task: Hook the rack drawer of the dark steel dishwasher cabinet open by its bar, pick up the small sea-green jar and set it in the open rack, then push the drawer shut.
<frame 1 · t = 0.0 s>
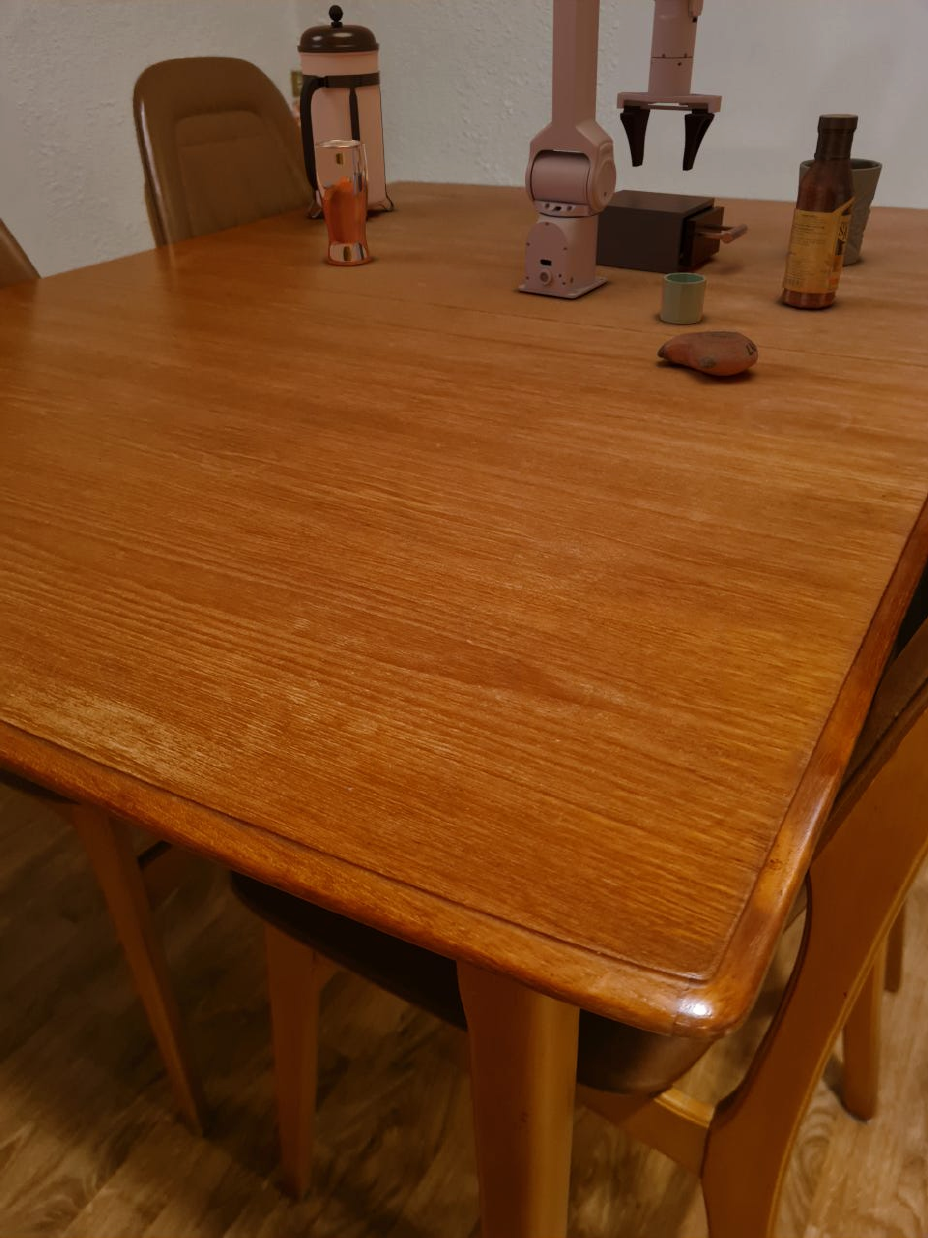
hand: (662, 167, 135), 10 cm above the table, tool pointing down, fingers open, 7 cm apart
oil lamp: (706, 371, 95), on the table
sauce bottle: (806, 304, 114), on the table
beer glass: (349, 261, 135), on the table
coffee press: (349, 216, 162), on the table
jar: (680, 318, 109), on the table
drawer: (678, 233, 129), point 4 cm above the table, slide at 0.5 cm
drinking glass: (823, 259, 131), on the table
dishwasher: (646, 258, 133), on the table
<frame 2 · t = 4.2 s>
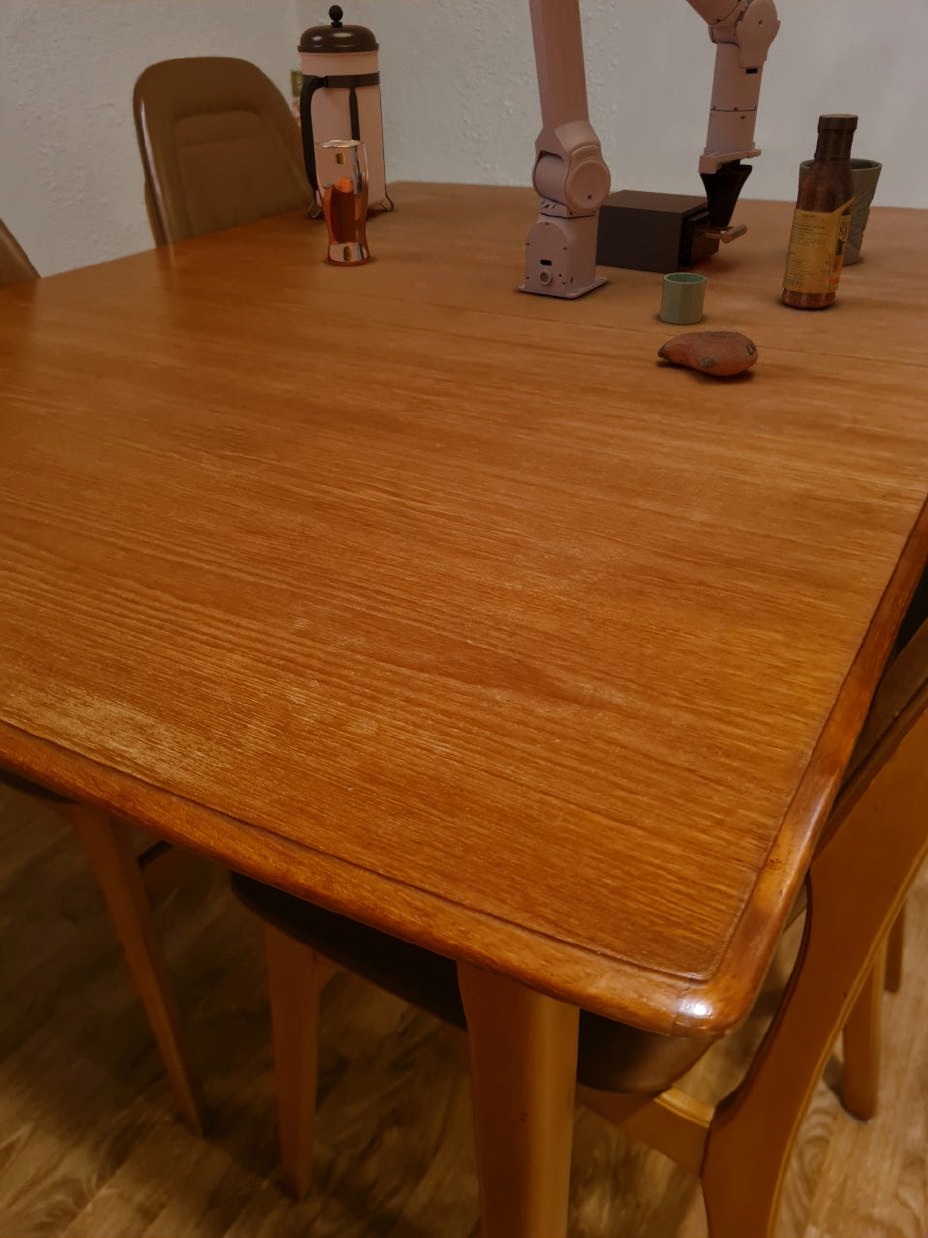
hand: (719, 225, 125), 5 cm above the table, tool pointing down, fingers closed
nothing on the table moved.
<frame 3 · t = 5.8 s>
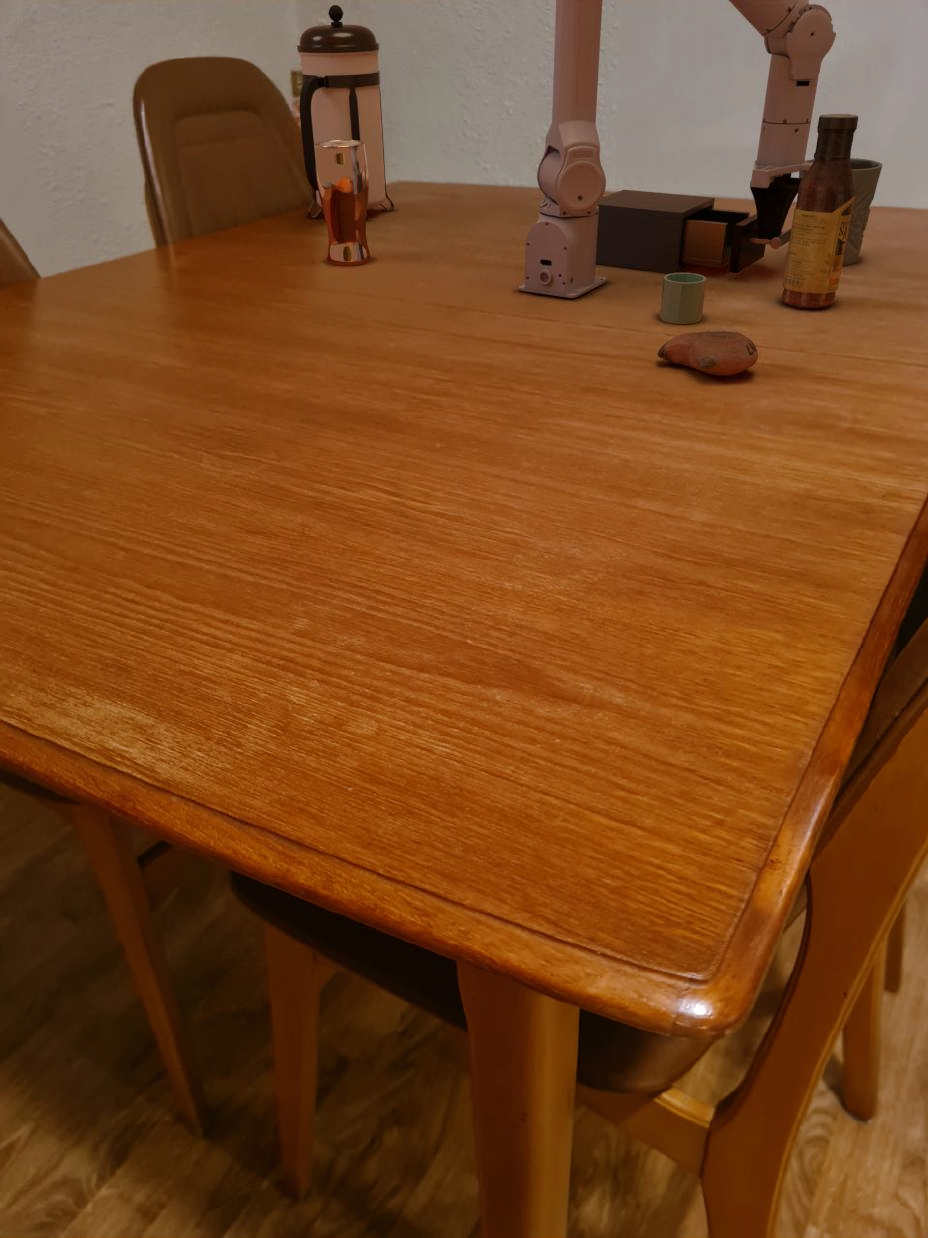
hand: (768, 239, 123), 4 cm above the table, tool pointing down, fingers closed, pressing on drawer
drawer: (723, 238, 126), point 4 cm above the table, slide at 6.8 cm, touching gripper
everything else where it was.
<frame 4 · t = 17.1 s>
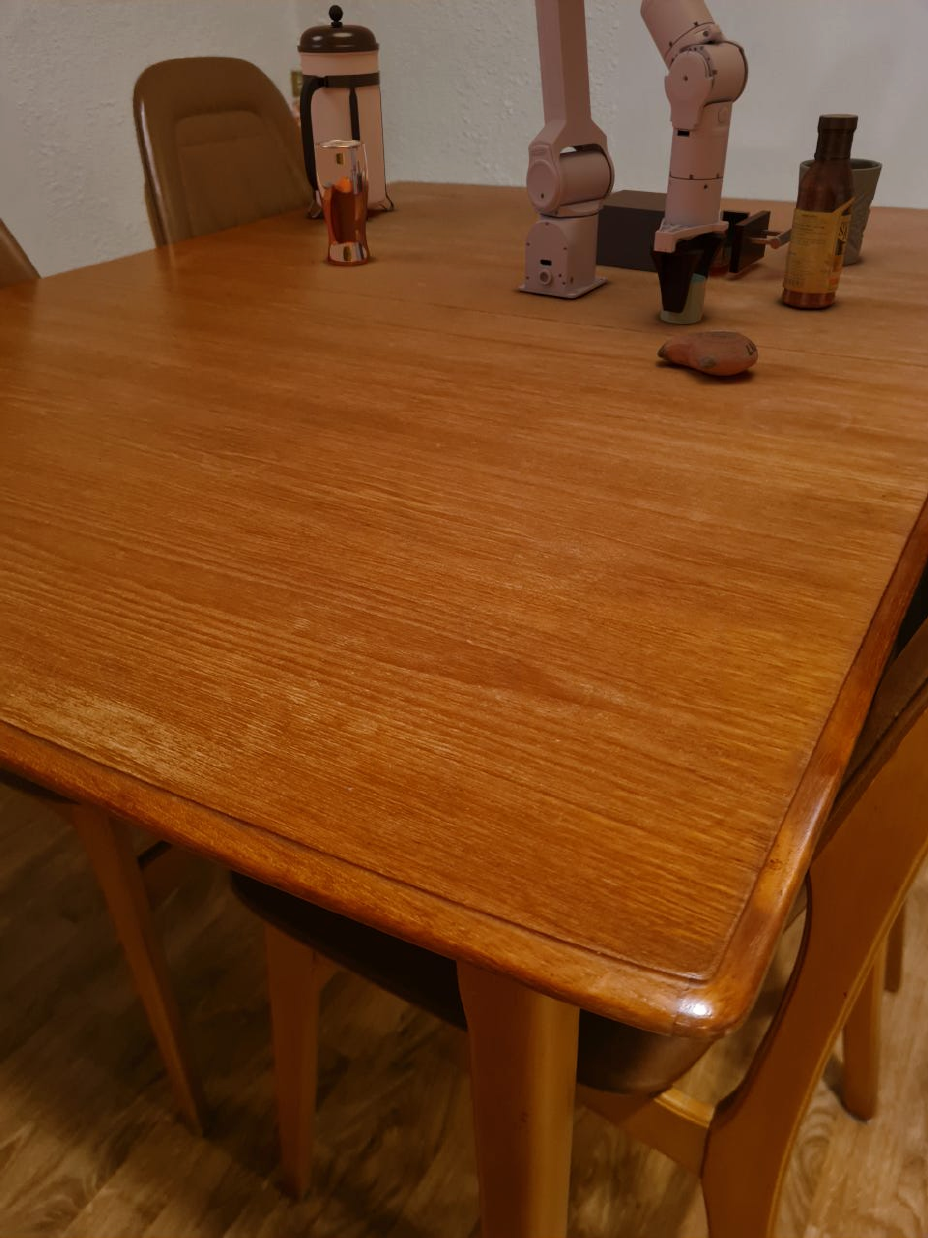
hand: (681, 305, 108), 1 cm above the table, tool pointing down, fingers closed on jar, 4 cm apart
jar: (680, 318, 109), on the table, touching gripper
drawer: (723, 238, 126), point 4 cm above the table, slide at 6.8 cm
everything else where it was.
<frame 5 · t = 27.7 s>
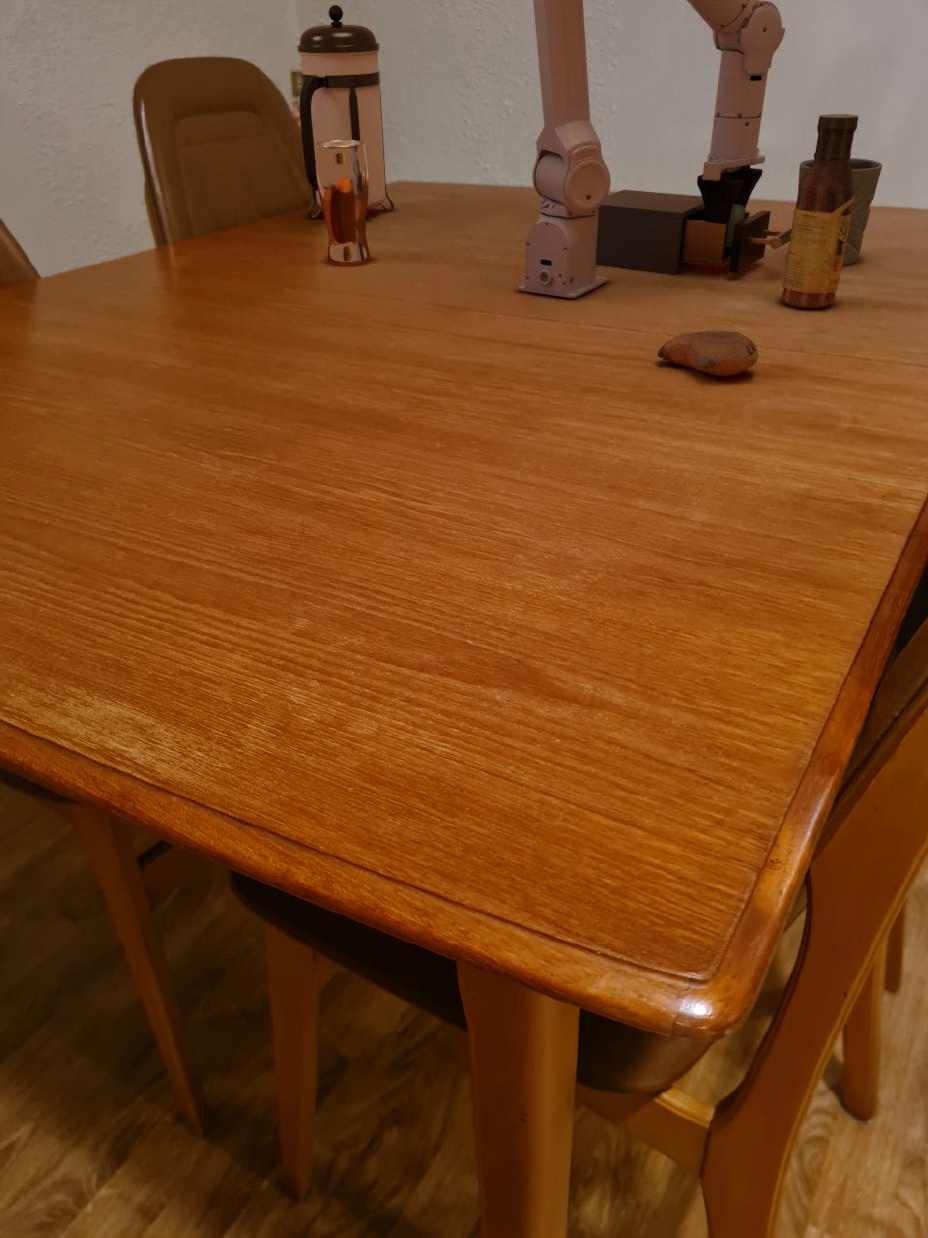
hand: (722, 231, 125), 5 cm above the table, tool pointing down, fingers closed on jar, 5 cm apart
jar: (722, 243, 126), point 3 cm above the table, touching gripper
everything else where it was.
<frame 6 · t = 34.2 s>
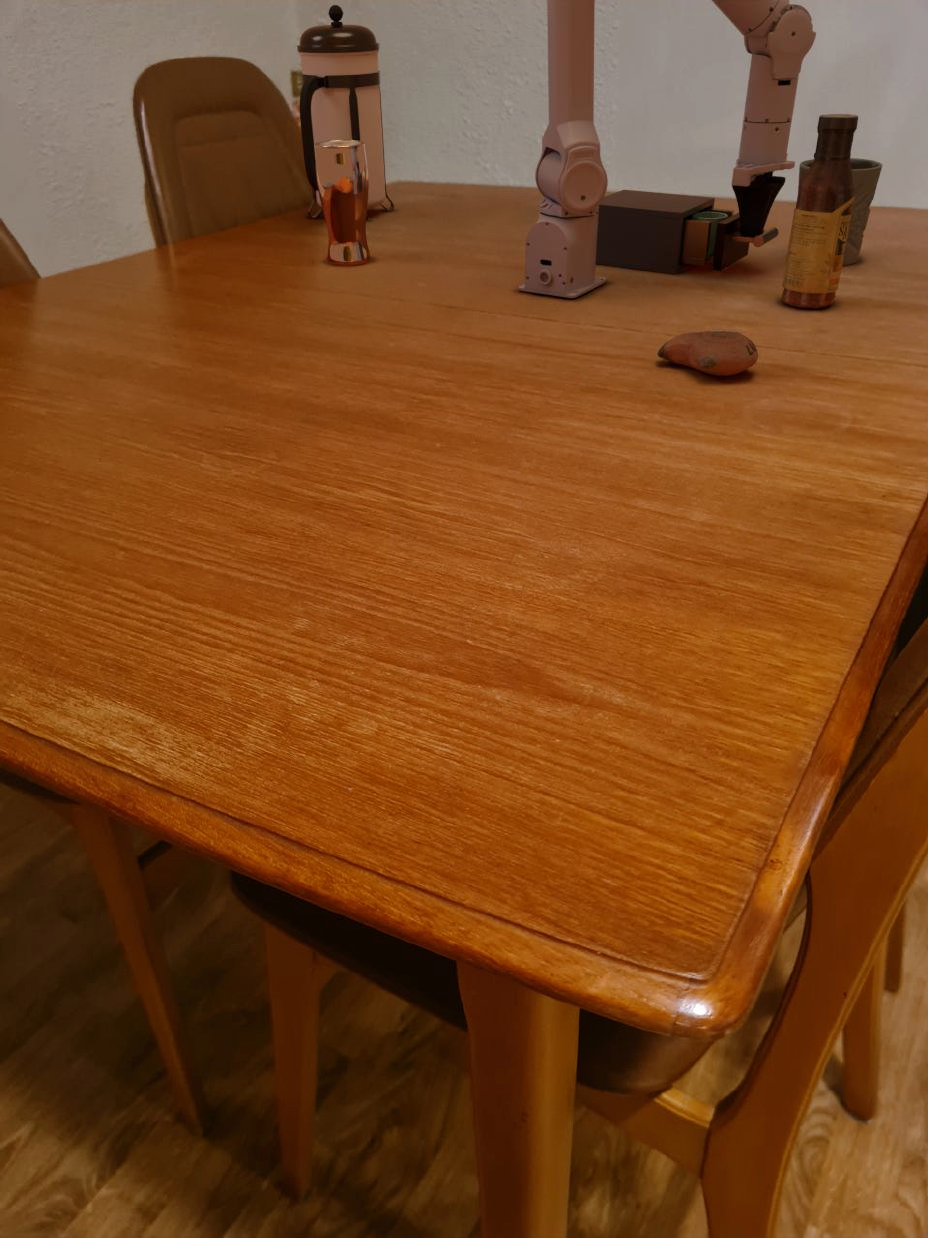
hand: (750, 237, 124), 4 cm above the table, tool pointing down, fingers closed, pressing on drawer
jar: (705, 250, 128), point 2 cm above the table, touching drawer
drawer: (707, 236, 127), point 4 cm above the table, slide at 4.6 cm, touching gripper, jar
everything else where it was.
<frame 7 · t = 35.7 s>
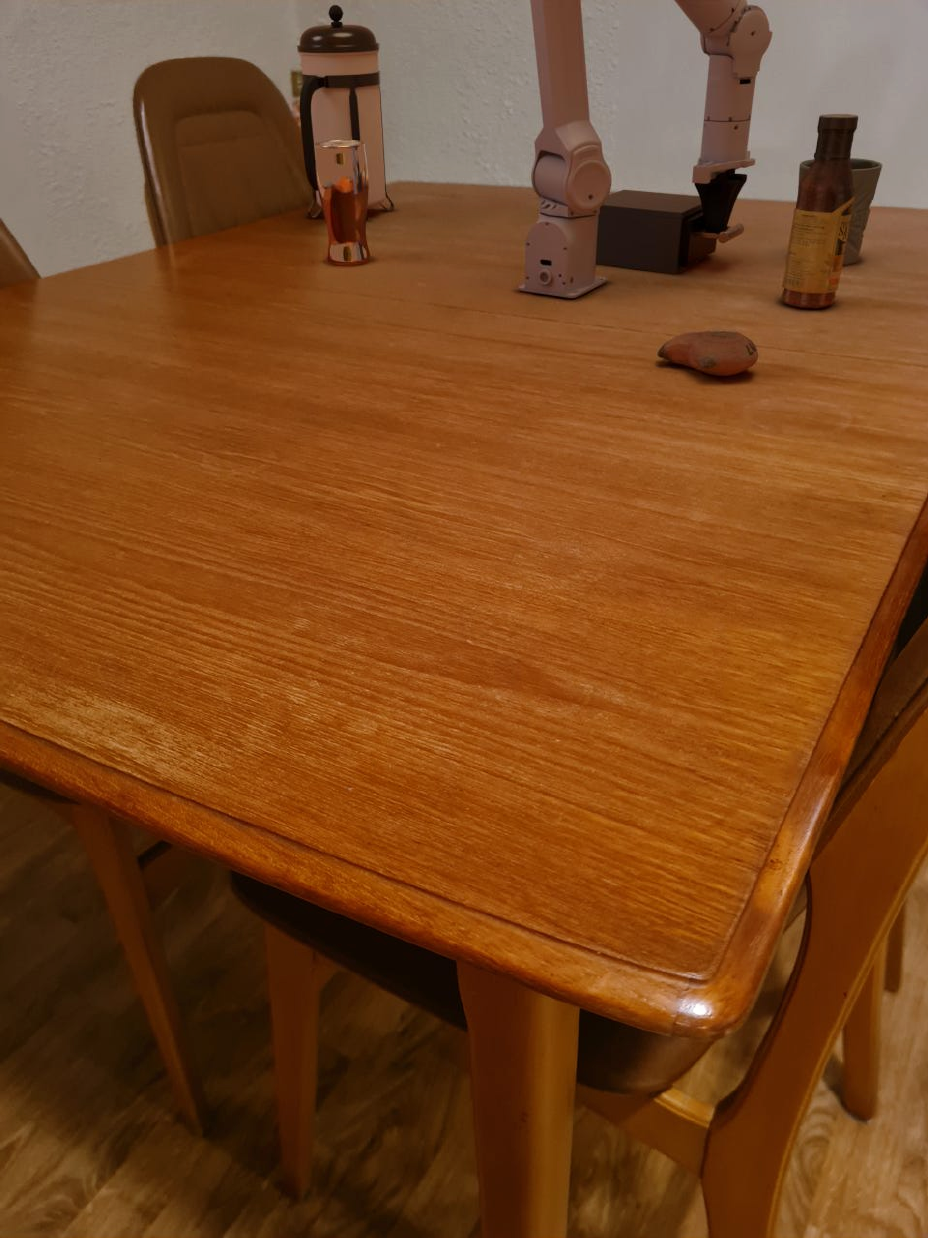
hand: (714, 234, 126), 4 cm above the table, tool pointing down, fingers closed, pressing on drawer
jar: (672, 246, 130), point 2 cm above the table, touching drawer
drawer: (675, 233, 129), point 4 cm above the table, slide at 0.0 cm, touching dishwasher, gripper, jar
everything else where it was.
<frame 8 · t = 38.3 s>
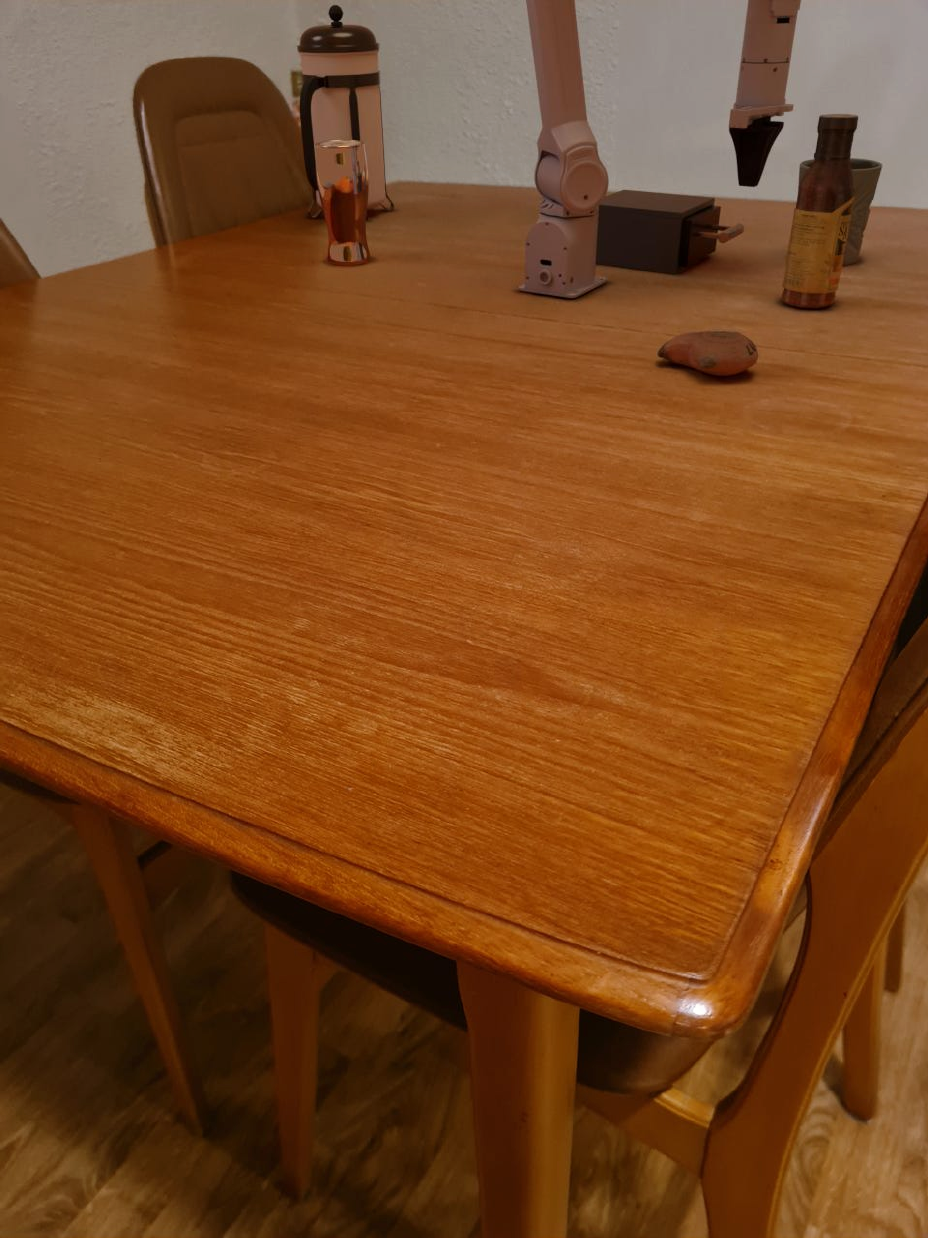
hand: (748, 185, 121), 10 cm above the table, tool pointing down, fingers closed
drawer: (675, 233, 129), point 4 cm above the table, slide at 0.0 cm, touching jar
everything else where it was.
at the end: drawer pulled out 6.8 cm at the most during the clip, back to where it started at the end; jar inside the target area in the dishwasher (1.8 cm from its centre), point 2.0 cm above the dishwasher's base; drawer slide at 0.0 cm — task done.
